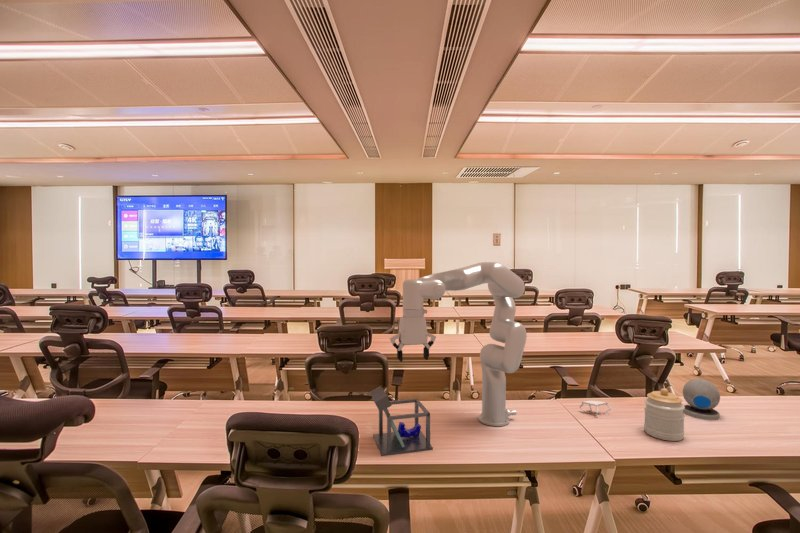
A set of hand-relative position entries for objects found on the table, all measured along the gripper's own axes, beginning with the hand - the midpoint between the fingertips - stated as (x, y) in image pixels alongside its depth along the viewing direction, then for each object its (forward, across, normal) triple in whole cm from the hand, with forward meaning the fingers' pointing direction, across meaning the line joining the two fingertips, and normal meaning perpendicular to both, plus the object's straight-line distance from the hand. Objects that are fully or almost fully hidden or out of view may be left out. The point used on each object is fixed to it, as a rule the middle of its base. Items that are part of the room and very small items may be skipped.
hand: (413, 359), depth 149 cm
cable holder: (+29, +1, -2) cm, 29 cm away
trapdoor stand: (+30, +4, 0) cm, 30 cm away
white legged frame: (+31, -84, -5) cm, 90 cm away
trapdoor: (+21, +11, 0) cm, 24 cm away
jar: (+31, -94, +19) cm, 101 cm away
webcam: (+31, -128, +7) cm, 131 cm away
